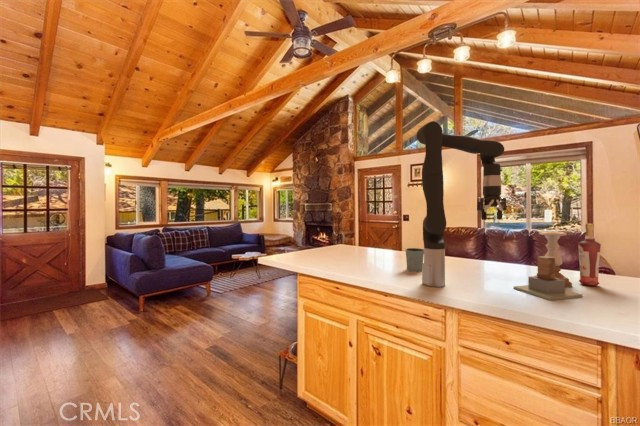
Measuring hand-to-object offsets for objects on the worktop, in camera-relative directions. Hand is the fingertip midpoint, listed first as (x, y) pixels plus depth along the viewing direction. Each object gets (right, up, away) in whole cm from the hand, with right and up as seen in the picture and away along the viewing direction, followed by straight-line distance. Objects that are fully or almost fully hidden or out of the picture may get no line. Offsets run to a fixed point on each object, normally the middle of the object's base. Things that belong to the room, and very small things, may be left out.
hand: (491, 219), depth 135 cm
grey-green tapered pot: (-27, -30, +29) cm, 49 cm away
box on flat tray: (+13, -30, -16) cm, 37 cm away
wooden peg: (+13, -29, -16) cm, 36 cm away
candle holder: (+28, -30, -2) cm, 41 cm away
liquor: (+41, -30, -6) cm, 51 cm away
